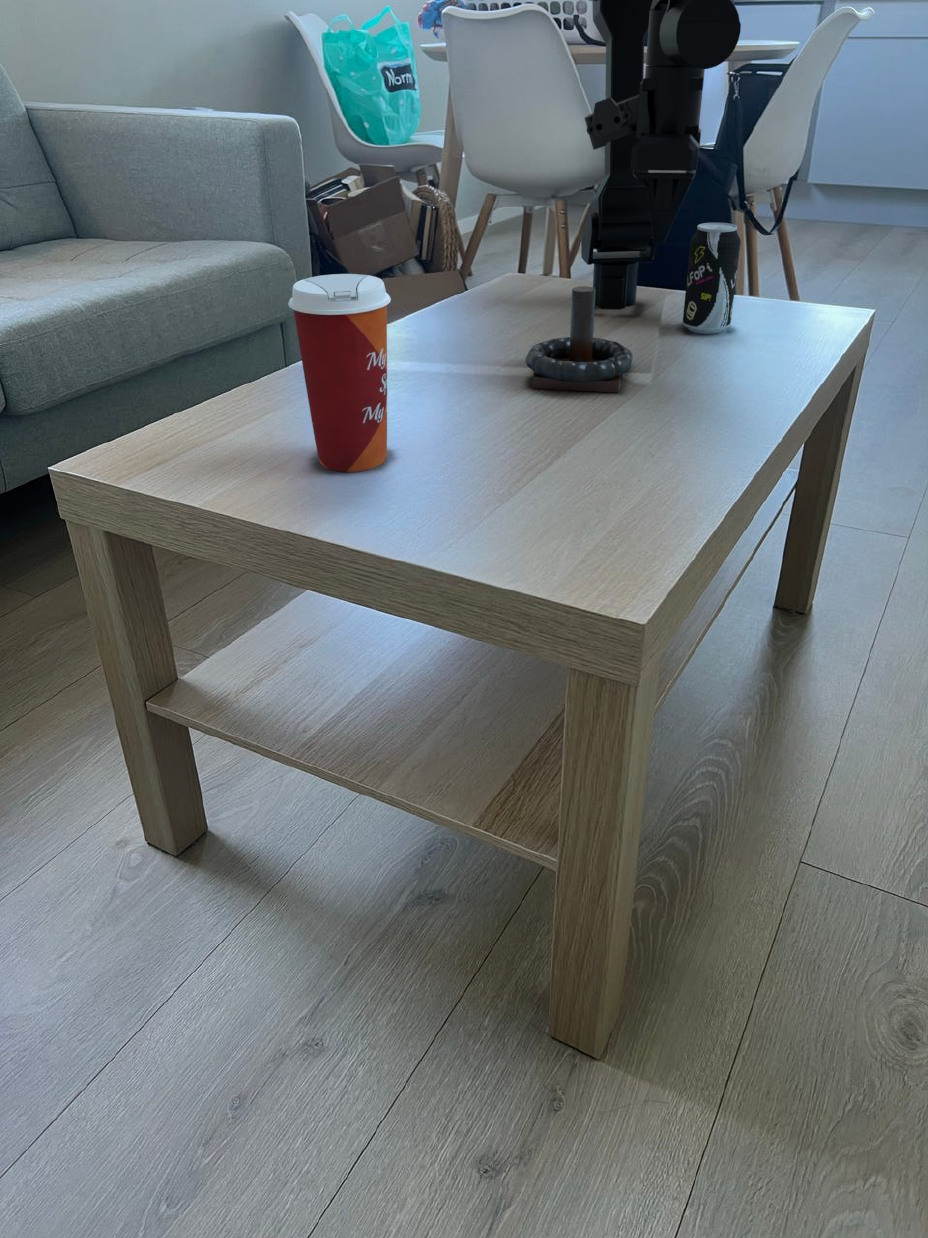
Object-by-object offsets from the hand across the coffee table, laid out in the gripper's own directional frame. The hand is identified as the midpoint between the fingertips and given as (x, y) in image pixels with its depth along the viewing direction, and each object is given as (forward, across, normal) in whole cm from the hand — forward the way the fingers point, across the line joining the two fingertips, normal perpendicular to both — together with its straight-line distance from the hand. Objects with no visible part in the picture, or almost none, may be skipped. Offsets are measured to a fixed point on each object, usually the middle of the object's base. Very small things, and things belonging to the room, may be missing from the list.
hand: (660, 234), depth 102 cm
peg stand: (+13, +9, -7) cm, 17 cm away
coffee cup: (+13, +35, -24) cm, 44 cm away
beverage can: (+13, -12, +6) cm, 19 cm away
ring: (+11, +10, -7) cm, 16 cm away
